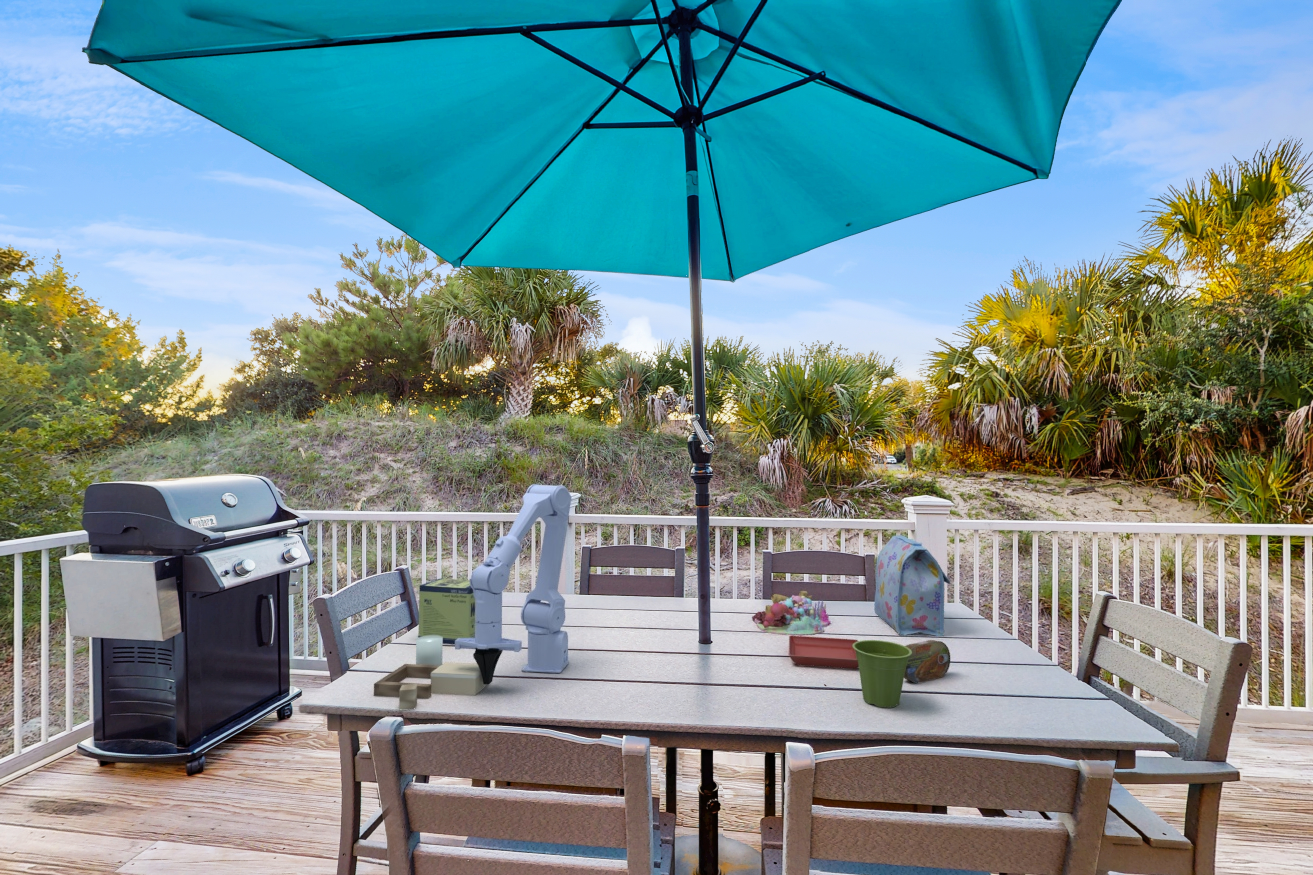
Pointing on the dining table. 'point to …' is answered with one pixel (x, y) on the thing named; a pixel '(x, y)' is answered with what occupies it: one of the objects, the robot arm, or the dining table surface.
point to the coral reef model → (792, 616)
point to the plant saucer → (823, 652)
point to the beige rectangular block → (457, 679)
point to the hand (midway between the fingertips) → (487, 682)
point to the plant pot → (881, 670)
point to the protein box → (447, 609)
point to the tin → (927, 661)
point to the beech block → (408, 696)
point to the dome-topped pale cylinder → (429, 650)
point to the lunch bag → (910, 588)
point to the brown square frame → (392, 681)
